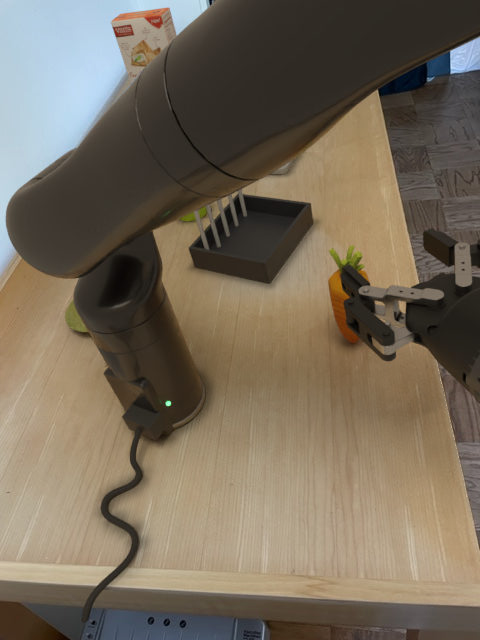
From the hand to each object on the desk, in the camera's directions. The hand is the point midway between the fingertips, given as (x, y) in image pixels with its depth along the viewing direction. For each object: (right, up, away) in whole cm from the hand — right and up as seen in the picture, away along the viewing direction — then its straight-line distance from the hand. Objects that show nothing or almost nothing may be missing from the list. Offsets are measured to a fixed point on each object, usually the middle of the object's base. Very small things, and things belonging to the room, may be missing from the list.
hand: (386, 255), depth 49 cm
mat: (-35, -5, +34) cm, 49 cm away
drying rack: (-11, +6, +39) cm, 41 cm away
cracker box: (-34, +53, +94) cm, 113 cm away
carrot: (+1, -9, +20) cm, 22 cm away
